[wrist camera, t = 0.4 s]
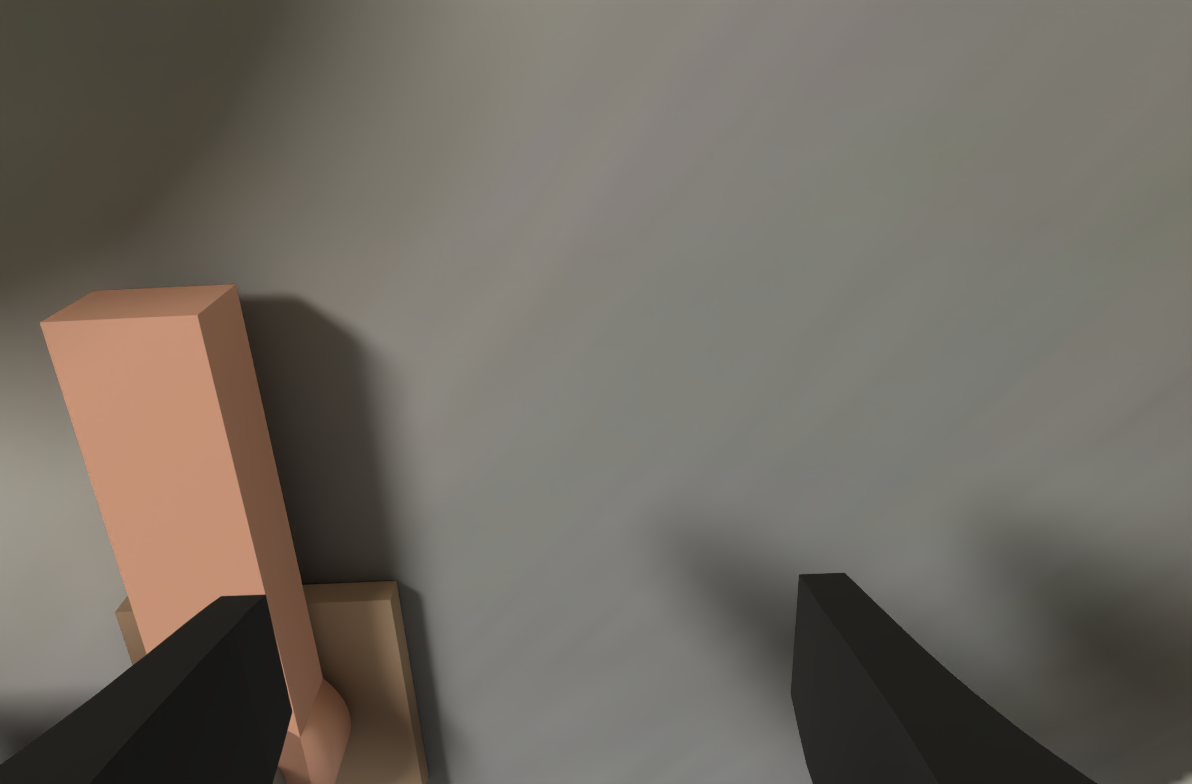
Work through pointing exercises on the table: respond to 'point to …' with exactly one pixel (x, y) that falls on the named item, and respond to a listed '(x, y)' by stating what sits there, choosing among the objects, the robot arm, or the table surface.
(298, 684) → the link
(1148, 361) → the table surface
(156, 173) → the table surface
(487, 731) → the table surface
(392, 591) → the pintle plate
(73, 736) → the robot arm
